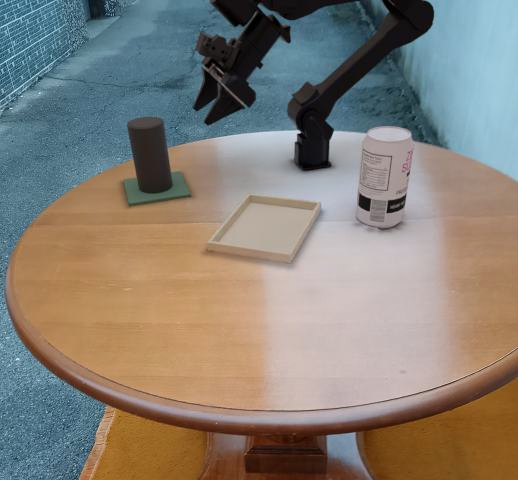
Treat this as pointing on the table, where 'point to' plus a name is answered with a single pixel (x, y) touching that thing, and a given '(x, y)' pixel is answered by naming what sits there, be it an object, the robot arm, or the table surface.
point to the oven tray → (266, 228)
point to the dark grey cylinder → (150, 154)
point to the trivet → (140, 197)
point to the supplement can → (384, 176)
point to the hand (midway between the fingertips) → (200, 116)
